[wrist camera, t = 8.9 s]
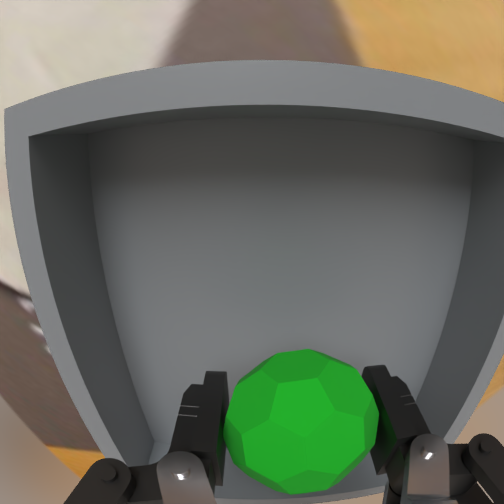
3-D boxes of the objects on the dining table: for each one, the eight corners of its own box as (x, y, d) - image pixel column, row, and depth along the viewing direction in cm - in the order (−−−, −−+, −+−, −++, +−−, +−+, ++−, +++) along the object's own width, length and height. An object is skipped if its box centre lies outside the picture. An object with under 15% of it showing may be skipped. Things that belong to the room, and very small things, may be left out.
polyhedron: (208, 393, 12) (192, 494, 7) (268, 300, 10) (275, 415, 6) (312, 426, 12) (325, 516, 8) (382, 350, 11) (428, 446, 6)
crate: (479, 119, 11) (550, 122, 6) (405, 430, 18) (424, 481, 14) (76, 112, 12) (4, 109, 7) (145, 438, 19) (129, 492, 14)
